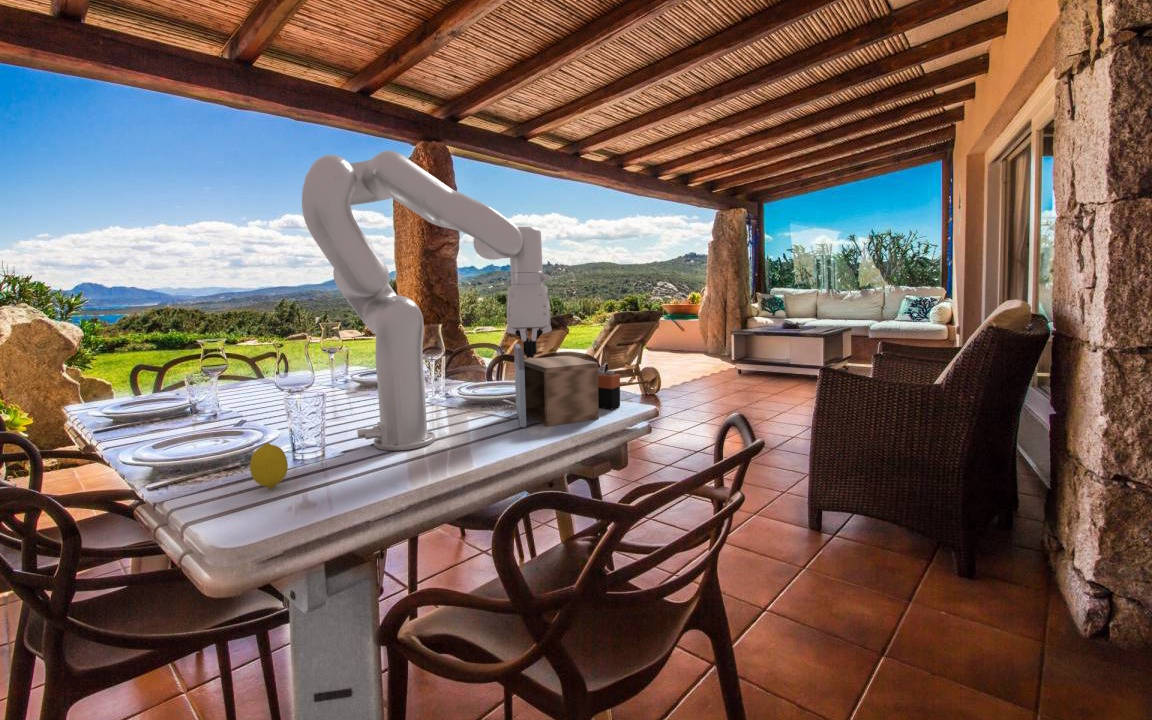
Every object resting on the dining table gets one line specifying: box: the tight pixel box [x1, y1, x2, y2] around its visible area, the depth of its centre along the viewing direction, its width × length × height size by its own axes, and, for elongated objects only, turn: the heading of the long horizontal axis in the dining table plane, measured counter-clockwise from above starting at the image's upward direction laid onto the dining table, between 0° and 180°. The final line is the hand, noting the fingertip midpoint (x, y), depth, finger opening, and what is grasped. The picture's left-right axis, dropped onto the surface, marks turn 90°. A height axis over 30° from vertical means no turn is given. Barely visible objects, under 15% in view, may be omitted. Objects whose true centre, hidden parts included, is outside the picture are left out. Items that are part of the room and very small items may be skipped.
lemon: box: [249, 442, 289, 490], centre depth 93 cm, size 6×6×8 cm
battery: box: [598, 369, 621, 410], centre depth 148 cm, size 4×7×10 cm, turn 51°
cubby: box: [524, 355, 600, 427], centre depth 139 cm, size 14×16×14 cm
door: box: [513, 343, 527, 428], centre depth 135 cm, size 1×16×18 cm, turn 10°
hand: (530, 356), depth 133 cm, fingers closed
